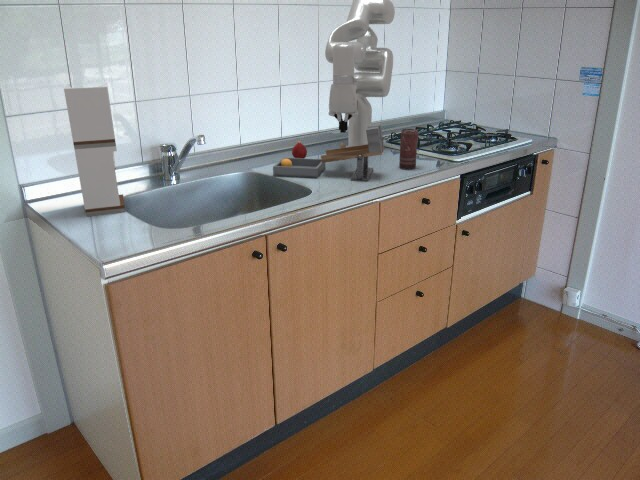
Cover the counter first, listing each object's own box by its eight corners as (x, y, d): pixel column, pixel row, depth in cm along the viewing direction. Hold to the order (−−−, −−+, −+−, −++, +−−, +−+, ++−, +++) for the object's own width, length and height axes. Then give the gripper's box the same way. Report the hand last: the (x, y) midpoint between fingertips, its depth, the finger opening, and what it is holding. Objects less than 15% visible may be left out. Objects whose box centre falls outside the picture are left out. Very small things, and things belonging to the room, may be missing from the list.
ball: (295, 163, 200) (288, 170, 202) (287, 155, 200) (280, 162, 201) (292, 165, 196) (285, 173, 198) (284, 157, 196) (277, 165, 198)
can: (416, 170, 201) (418, 131, 195) (398, 169, 202) (400, 131, 197) (416, 166, 206) (419, 128, 201) (399, 165, 207) (401, 128, 202)
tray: (284, 166, 207) (283, 157, 206) (325, 168, 204) (325, 159, 202) (273, 176, 194) (272, 166, 193) (317, 178, 191) (317, 168, 190)
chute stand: (357, 169, 202) (357, 146, 198) (373, 170, 201) (374, 146, 197) (350, 180, 188) (351, 155, 185) (368, 181, 187) (368, 156, 184)
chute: (331, 152, 207) (327, 128, 204) (386, 144, 201) (383, 119, 198) (322, 162, 191) (317, 137, 188) (381, 154, 186) (377, 128, 183)
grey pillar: (125, 211, 159) (107, 87, 146) (86, 216, 155) (63, 88, 142) (124, 200, 169) (106, 82, 156) (86, 204, 165) (66, 84, 152)
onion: (309, 160, 216) (309, 140, 213) (303, 163, 211) (302, 143, 208) (296, 159, 218) (295, 139, 215) (289, 162, 213) (289, 141, 210)
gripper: (365, 79, 196) (364, 130, 203) (325, 79, 199) (325, 129, 206) (362, 82, 190) (361, 134, 197) (320, 81, 193) (321, 133, 200)
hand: (343, 132), depth 202 cm, fingers closed
